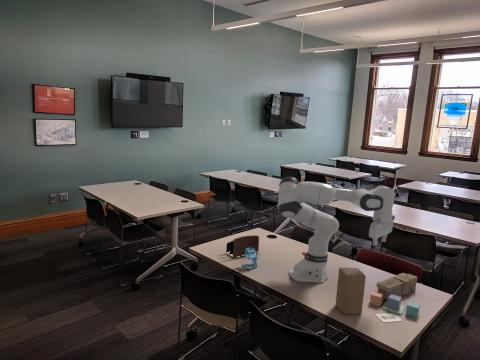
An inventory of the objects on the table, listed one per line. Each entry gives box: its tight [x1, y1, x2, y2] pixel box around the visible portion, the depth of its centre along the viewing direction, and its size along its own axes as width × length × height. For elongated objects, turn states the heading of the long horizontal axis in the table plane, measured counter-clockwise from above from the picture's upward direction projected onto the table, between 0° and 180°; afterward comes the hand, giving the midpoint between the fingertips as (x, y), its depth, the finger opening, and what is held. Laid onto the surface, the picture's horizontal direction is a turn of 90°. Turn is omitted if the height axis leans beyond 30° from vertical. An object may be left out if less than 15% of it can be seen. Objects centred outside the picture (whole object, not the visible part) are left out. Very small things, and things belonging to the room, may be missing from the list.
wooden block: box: [335, 267, 367, 315], centre depth 174 cm, size 10×10×20 cm
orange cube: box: [369, 290, 384, 307], centre depth 184 cm, size 5×5×5 cm
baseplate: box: [381, 294, 406, 316], centre depth 179 cm, size 9×9×6 cm
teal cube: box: [405, 300, 421, 319], centre depth 175 cm, size 5×5×5 cm
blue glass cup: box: [242, 248, 259, 270], centre depth 221 cm, size 8×8×12 cm
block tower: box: [376, 272, 418, 301], centre depth 195 cm, size 8×8×29 cm
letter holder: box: [225, 234, 260, 257], centre depth 242 cm, size 10×20×14 cm, turn 121°
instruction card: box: [374, 312, 403, 323], centre depth 170 cm, size 10×7×1 cm
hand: (379, 243), depth 186 cm, fingers open, 8 cm apart
